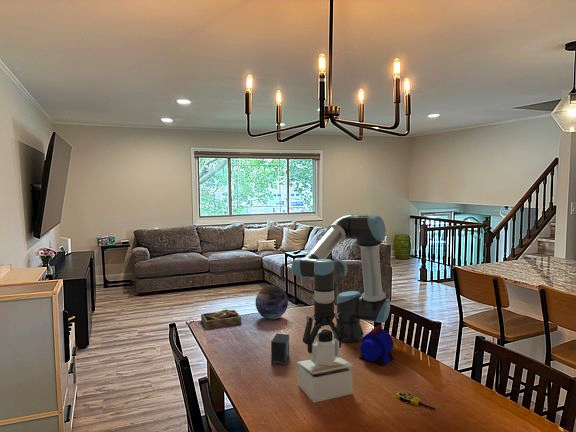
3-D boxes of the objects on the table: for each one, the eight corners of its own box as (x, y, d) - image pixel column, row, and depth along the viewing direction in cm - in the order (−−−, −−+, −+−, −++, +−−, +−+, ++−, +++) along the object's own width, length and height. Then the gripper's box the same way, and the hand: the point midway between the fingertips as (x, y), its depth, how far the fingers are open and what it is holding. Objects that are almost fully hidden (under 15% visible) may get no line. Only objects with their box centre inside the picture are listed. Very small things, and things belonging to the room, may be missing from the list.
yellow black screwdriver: (400, 389, 158) (438, 403, 147) (400, 394, 158) (438, 408, 147) (393, 393, 154) (432, 408, 144) (393, 398, 154) (432, 414, 144)
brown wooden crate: (238, 320, 244) (237, 312, 244) (215, 328, 233) (214, 319, 232) (226, 316, 252) (226, 308, 252) (203, 323, 241) (203, 315, 240)
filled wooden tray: (234, 316, 253) (234, 309, 253) (241, 323, 239) (241, 316, 239) (201, 320, 246) (201, 313, 245) (206, 328, 232) (205, 321, 231)
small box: (285, 366, 183) (284, 342, 182) (270, 364, 184) (270, 341, 183) (290, 356, 193) (289, 333, 192) (276, 355, 194) (275, 333, 194)
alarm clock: (394, 359, 188) (394, 326, 187) (380, 368, 179) (380, 333, 178) (371, 352, 197) (371, 320, 195) (356, 360, 188) (356, 327, 186)
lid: (335, 356, 170) (335, 354, 170) (353, 366, 157) (353, 364, 157) (297, 363, 164) (297, 361, 164) (312, 374, 151) (312, 372, 151)
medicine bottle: (335, 359, 162) (335, 328, 162) (331, 366, 156) (331, 335, 155) (318, 356, 165) (317, 326, 164) (313, 364, 158) (312, 333, 157)
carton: (334, 378, 170) (334, 356, 170) (352, 394, 157) (352, 370, 157) (298, 385, 165) (298, 363, 164) (313, 402, 152) (313, 378, 151)
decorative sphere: (252, 323, 239) (251, 288, 238) (260, 313, 259) (259, 280, 257) (285, 325, 236) (284, 289, 234) (290, 314, 256) (290, 281, 254)
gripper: (345, 295, 166) (345, 350, 168) (292, 301, 158) (293, 359, 160) (355, 300, 159) (355, 357, 161) (300, 307, 151) (301, 367, 153)
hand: (324, 358), depth 160 cm, fingers closed on medicine bottle, 10 cm apart
